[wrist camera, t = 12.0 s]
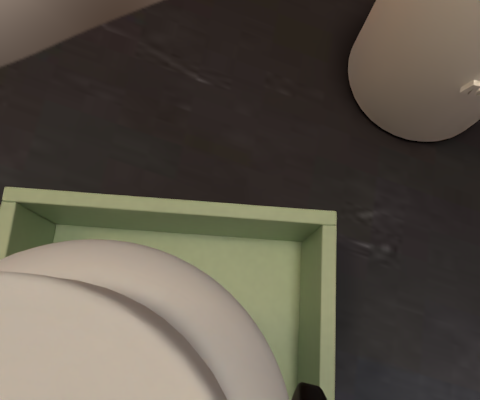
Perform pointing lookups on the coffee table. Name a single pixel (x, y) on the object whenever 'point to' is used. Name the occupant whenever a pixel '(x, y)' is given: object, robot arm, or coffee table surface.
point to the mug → (419, 67)
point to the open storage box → (212, 258)
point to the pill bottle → (125, 328)
